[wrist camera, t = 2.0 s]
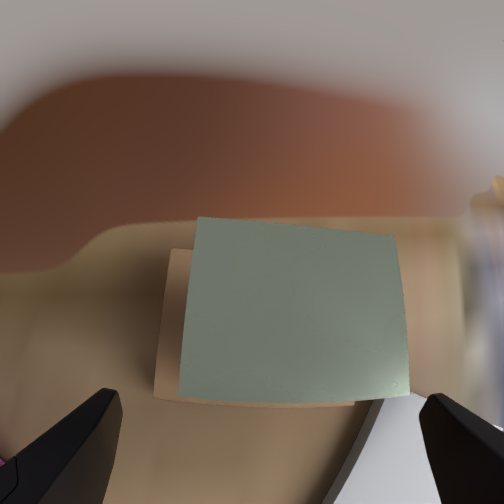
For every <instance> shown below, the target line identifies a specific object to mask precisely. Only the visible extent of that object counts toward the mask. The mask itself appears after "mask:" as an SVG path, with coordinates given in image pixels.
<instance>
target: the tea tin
mask: <svg viewBox="0 0 504 504" xmlns="http://www.w3.org/2000/svg"><path fill="white" fill-rule="evenodd" d="M408 395H409V360H408V342H407V329H406V317H405V307H404V298H403V289H402V282H401V274H400V267H399V260H398V254H397V248H396V242H395V236H390V235H382V234H373V233H364V232H356V231H347V230H337V229H328V228H318V227H309V226H299V225H288V224H278V223H267V222H256V221H245V220H233V219H221V218H209V217H198V219H197V226H196V233H195V240H194V247H193V254H192V262H191V270H190V278H189V286H188V294H187V303H186V312H185V322H184V331H183V341H182V352H181V364H180V376H179V389H178V397H185V398H195V399H205V400H217V401H232V402H252V403H325V402H345V401H360V400H372V399H382V398H391V397H400V396H408Z"/></svg>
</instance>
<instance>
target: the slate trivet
mask: <svg viewBox="0 0 504 504" xmlns="http://www.w3.org/2000/svg"><path fill="white" fill-rule="evenodd" d="M426 400H427V399H426V398H424V397H421V396H419V395H417V394H414V393H412V392H410V391H409V395H408V396H400V397H391V398H382V399H374V400H373V402H372V405H371V407H370V409H369V412H368V414H367V416H366V418H365V421H364V423H363V425H362V427H361V429H360V432H359V434H358V436H357V438H356V440H355V442H354V444H353V446H352V448H351V450H350V452H349V454H348V456H347V458H346V460H345V462H344V464H343V466H342V468H341V470H340V472H339V474H338V475H337V477H336V479H335V481H334V483H333V484H332V486H331V488H330V490H329V491H328V493H327V495H326V497H325V498H324V500H323V502H322V503H321V504H441V501H440V497H439V494H438V491H437V487H436V484H435V480H434V477H433V474H432V471H431V468H430V464H429V461H428V458H427V453H426V449H425V444H424V440H423V435H422V431H421V427H420V422H419V412H420V410H421V409H422V407H423V405H424V403H425V402H426ZM491 425H492V424H491ZM493 426H495V425H493ZM495 427H496V428H498V429H499V430H501V431H503V428H501V427H498V426H495Z"/></svg>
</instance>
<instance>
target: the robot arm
mask: <svg viewBox="0 0 504 504" xmlns="http://www.w3.org/2000/svg"><path fill="white" fill-rule="evenodd" d="M122 416H123V411H122V406H121V402H120V398H119V394H118V392H117V391H116V390H113V389H108V388H102V389H100V390H99V391H98V392H96V393H95V394H94V395H93V396H91V397H90V398H89V399H88V400H86V401H85V402H84V403H82V404H81V405H80V406H79V407H77V408H76V409H75V410H73V411H72V412H71V413H70V414H68V415H67V416H66V417H64V418H63V419H62V420H61V421H59V422H58V423H57V424H55V425H54V426H53V427H51V428H50V429H49V430H48V431H46V432H45V433H44V434H42V435H41V436H40V437H38V438H37V439H36V440H35V441H33V442H32V443H31V444H29V445H28V446H27V447H25V448H24V449H23V450H21V451H20V452H19V453H18V454H16V456H13V457H12V458H11V459H9V460H8V461H7V462H6V463H4V464H3V465H1V466H0V504H102V503H103V500H104V496H105V493H106V489H107V486H108V482H109V479H110V475H111V472H112V469H113V465H114V460H115V455H116V449H117V443H118V438H119V432H120V427H121V422H122ZM419 422H420V427H421V431H422V435H423V440H424V444H425V449H426V453H427V458H428V461H429V464H430V468H431V471H432V474H433V477H434V480H435V484H436V487H437V491H438V494H439V497H440V501H441V504H504V432H503V431H501V430H499V429H498V428H496V427H495V426H493V425H491V424H490V423H488V422H487V421H485V420H483V419H482V418H480V417H479V416H477V415H476V414H474V413H472V412H471V411H469V410H468V409H466V408H465V407H463V406H461V405H460V404H458V403H457V402H455V401H454V400H452V399H450V398H449V397H447V396H446V395H444V394H443V393H436V394H431V395H430V396H429V397H428V398H427V400H426V402H425V403H424V405H423V407H422V409H421V410H420V412H419Z"/></svg>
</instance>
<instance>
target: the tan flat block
mask: <svg viewBox="0 0 504 504" xmlns="http://www.w3.org/2000/svg"><path fill="white" fill-rule="evenodd" d="M192 254H193V250H189V249H177V248H171V253H170V259H169V266H168V272H167V279H166V286H165V293H164V300H163V307H162V315H161V323H160V331H159V340H158V349H157V359H156V369H155V380H154V392H153V398H156V399H164V400H171V401H179V402H188V403H198V404H209V405H222V406H239V407H266V408H307V407H334V406H350V405H355V401H345V402H325V403H252V402H232V401H217V400H205V399H195V398H185V397H178V389H179V376H180V364H181V352H182V341H183V331H184V322H185V312H186V303H187V294H188V286H189V278H190V270H191V262H192Z"/></svg>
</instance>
